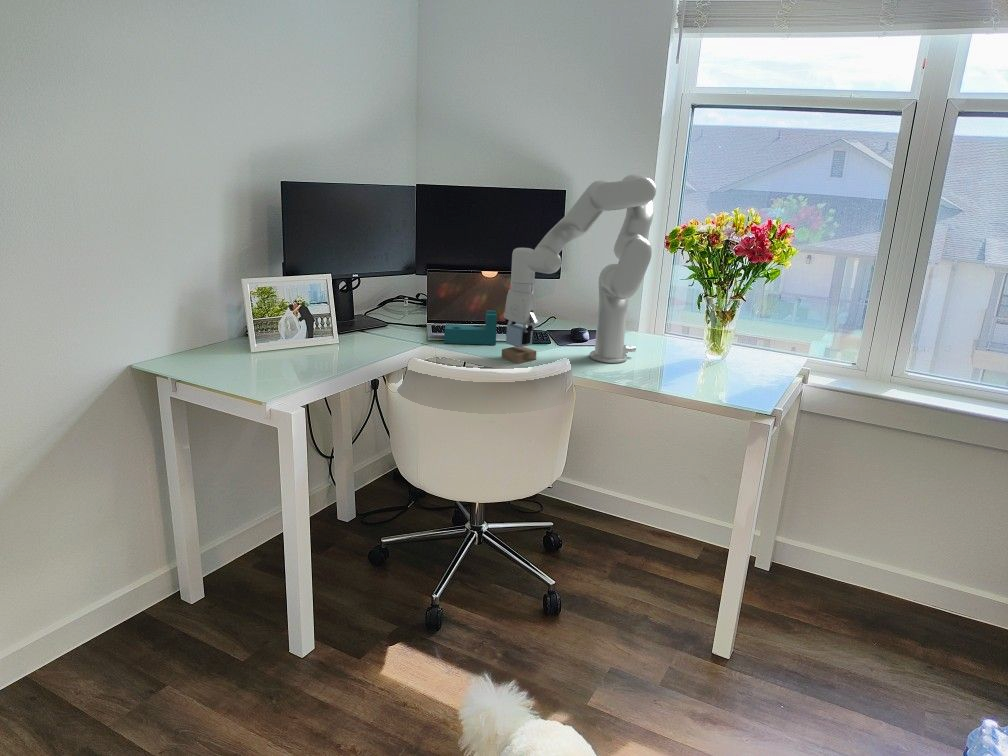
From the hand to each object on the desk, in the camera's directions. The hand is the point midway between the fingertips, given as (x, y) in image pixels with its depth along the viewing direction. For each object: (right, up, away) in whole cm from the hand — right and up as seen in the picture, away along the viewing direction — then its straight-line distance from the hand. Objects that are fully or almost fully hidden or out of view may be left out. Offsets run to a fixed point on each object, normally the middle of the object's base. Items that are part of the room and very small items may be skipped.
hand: (519, 340), depth 240 cm
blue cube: (0, -1, 0) cm, 1 cm away
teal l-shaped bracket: (-17, +1, +21) cm, 27 cm away
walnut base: (0, -6, +2) cm, 6 cm away
